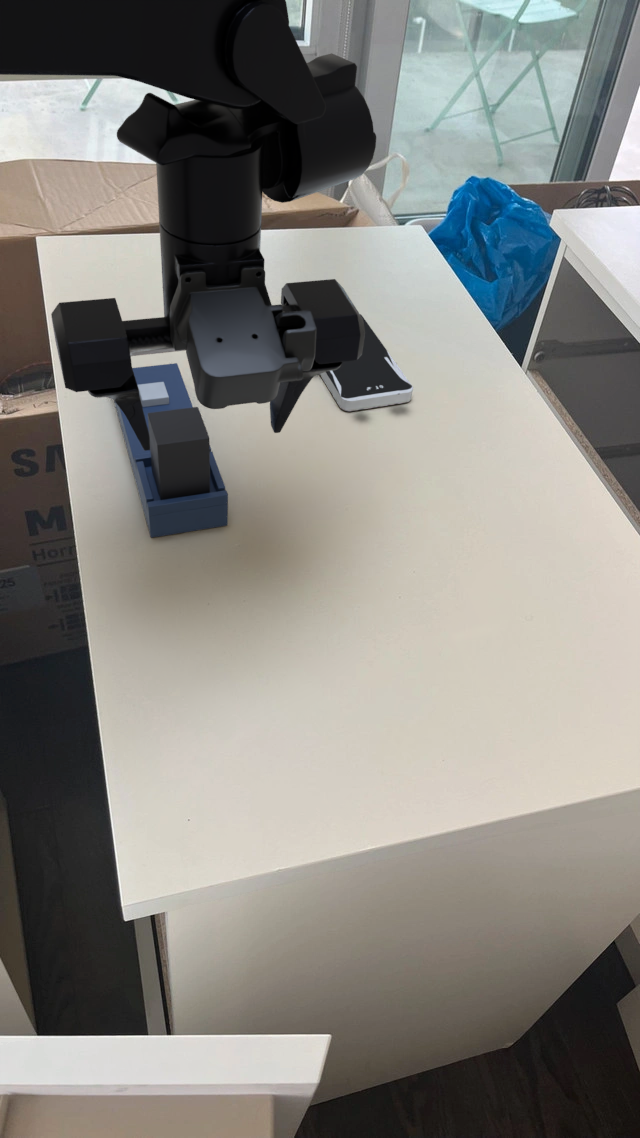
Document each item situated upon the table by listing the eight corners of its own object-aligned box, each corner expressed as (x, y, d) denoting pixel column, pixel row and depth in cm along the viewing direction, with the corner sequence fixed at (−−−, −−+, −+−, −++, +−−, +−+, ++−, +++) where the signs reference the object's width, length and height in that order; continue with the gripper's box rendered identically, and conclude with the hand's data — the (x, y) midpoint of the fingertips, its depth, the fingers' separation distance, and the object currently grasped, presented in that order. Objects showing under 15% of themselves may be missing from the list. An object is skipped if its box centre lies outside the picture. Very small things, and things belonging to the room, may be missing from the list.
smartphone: (359, 311, 93) (416, 391, 83) (357, 322, 94) (413, 402, 84) (293, 319, 90) (344, 402, 81) (292, 330, 91) (342, 413, 82)
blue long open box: (150, 538, 69) (148, 507, 66) (111, 392, 81) (108, 360, 79) (227, 525, 71) (228, 494, 68) (178, 384, 83) (176, 353, 80)
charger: (161, 503, 68) (157, 445, 64) (151, 470, 70) (147, 412, 66) (211, 495, 69) (210, 437, 65) (200, 464, 72) (198, 406, 67)
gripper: (56, 312, 40) (92, 540, 52) (416, 280, 45) (376, 495, 57) (33, 205, 47) (69, 427, 59) (347, 188, 52) (324, 396, 64)
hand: (212, 438), depth 59 cm, fingers open, 9 cm apart
